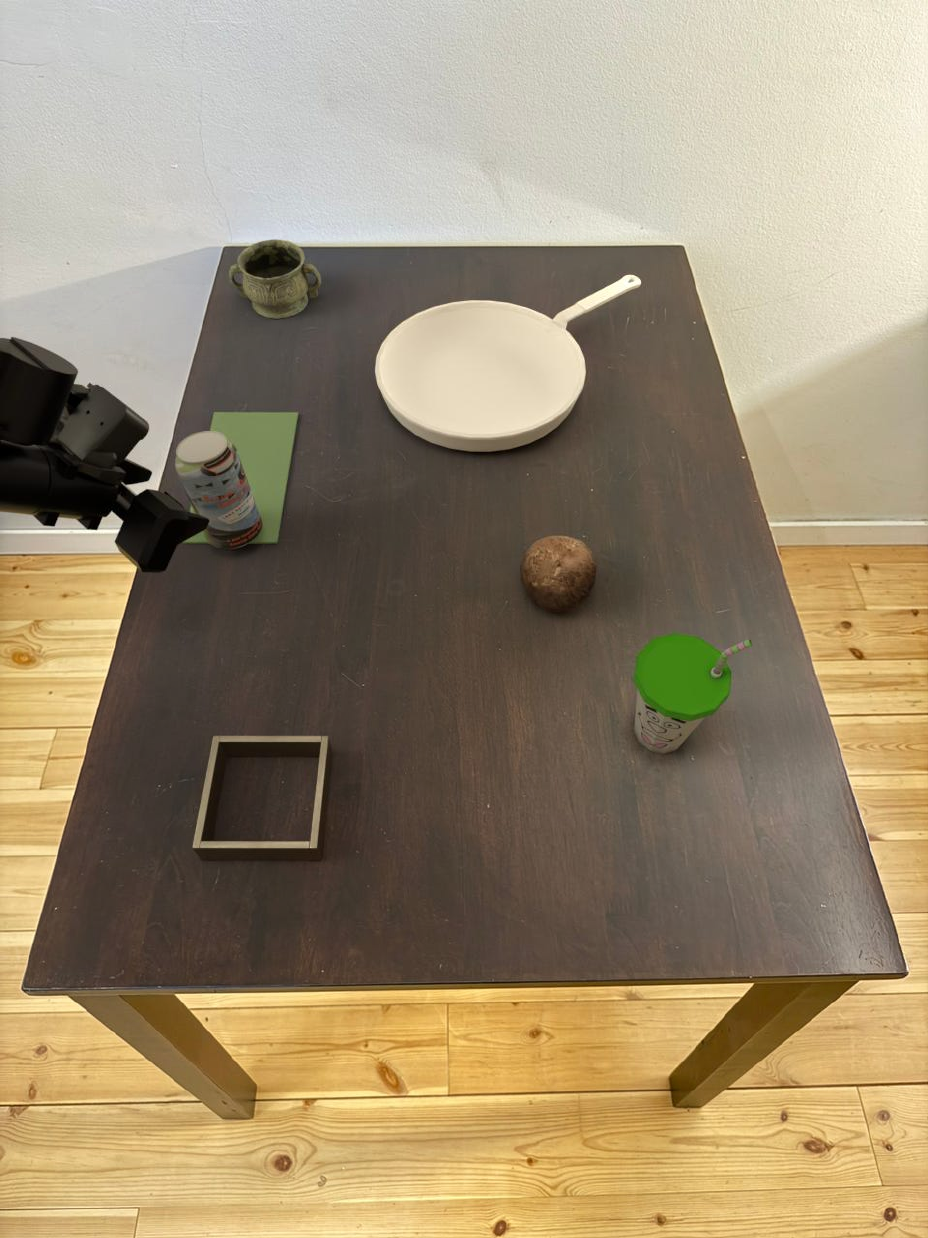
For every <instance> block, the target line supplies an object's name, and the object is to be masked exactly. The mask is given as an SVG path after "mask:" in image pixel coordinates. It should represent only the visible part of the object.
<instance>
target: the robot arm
mask: <svg viewBox="0 0 928 1238" xmlns="http://www.w3.org/2000/svg"><path fill="white" fill-rule="evenodd" d="M78 374H79V370H78V368H77V366H75V365H74V364H73V363H72V362H71V361H68V360H67V359H66V358H64V357H63V356H61V355H59V354H57V353H55V352H53V351H51V350H49V349H47V348H45V347H42V346H40V345H38V344H36V343H33V342H31V341H28V340H24V339H21V338H19V337H14V336H11V337H10V338H8V337H7V338H6V337H0V513H10V514H19V515H28V516H33V517H34V518H35V519H36V520H37V521H38V522H39V523H40V524H41V525H42V526H43V527H54V528H55V526H56V525H57V522H58V520H59V519H68V520H69V519H71V520H76V521H77V522H79V524H80V525H82V526H83V527H84V528H85V529H86V530H90V531H98V529H99V527H100V524H101V523H102V520H103V518H107V517H108V516H109V515H110V514H111V513H113V514H114V515H115V516H117V518H119V519H120V520H121V521H122V523H121V525H120V528H119V530H118V533H117V534H116V537H115V540H114V544H115V546H116V547H117V549H118V552H119V553H121V555H123V556H124V557H125V558H126V560H128V561H129V562H130V563H131V564H133V566H135V567H136V568H137V569H138V570H139V571H140V572H142V573H154V574H155V573H156V574H157V573H158V574H159V573H162V572H163V573H164V572H166V571H167V568H168V567H169V564H170V562H171V560H172V558H173V556H174V553H175V552H176V549H177V547H178V546H179V545H180V544H183V542H184V541H186V540H187V539H189V538H191V537H193V536H195V535H197V534H198V533H200V532H202V531H204V530H205V529H206V528H207V526H208V524H209V521H210V520H209V519H208V518H206V517H203V516H201V515H198V514H195V513H191V512H190V511H188V510H187V509H186V508H185V507H184V506H183V504H182V503H180V502H179V501H178V500H177V499H176V498H174V497H173V496H172V495H171V494H170V493H169V492H167V490H164V492H161V491H159V490H156V489H150V488H145V489H144V490H143V491H141V492H139V493H138V494H137V493H135V491H133V490H132V489H131V488H130V487H129V486H130V485H137V484H141V483H142V484H143V483H148V482H149V481H150V480H151V477H152V475H153V471H152V470H151V469H149V468H147V467H145V466H143V465H141V464H139V463H136V461H132V460H131V459H129V458H128V456H129V455H130V453H131V452H132V451H133V450H134V449H135V448H136V446H137V445H138V443H140V441H142V440H144V439H145V437H147V436H148V434H149V432H150V424H149V423H148V420H146V419H145V418H144V417H142V416H141V415H139V414H138V413H137V412H136V411H135V410H134V409H132V408H131V407H129V405H127V404H126V403H124V401H122V400H121V399H119V398H118V397H117V396H115V395H114V394H113V393H111V392H110V391H109V390H107V389H106V387H104V386H100V385H99V384H94V385H93V384H92V383H91V382H89V383H88V384H87V385H86V386H85V385H83V384H79V383H75V382H76V379H77V377H78Z"/></svg>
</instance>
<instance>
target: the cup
mask: <svg viewBox="0 0 928 1238" xmlns="http://www.w3.org/2000/svg"><path fill="white" fill-rule="evenodd" d="M750 647H753V642H752V640H751V639H750V638H749V639H746V640H744V641H742V642H739V643H738V644H734V645H733V646H730V647H728V648H726V649H725V650H723V652H721V651H720V650H719V649H717V648H716V647H714V646H713V645H712V644H710V643H708V642H707V641H705V640H704V639H703V638H701V637H699V636H694V635H689V634H684V633H678V632H672V633H669V634H665V635H661V636H657V637H653V638H651V640H650V641H649V642H648V643H647V644H645V646H644V647H643V648H642V649H641V650H640V651H639V652H638V653H637V656H636V660H635V666H634V673H633V679H632V680H633V682H634V685H635V686H636V688H637V690H636V701H635V702H636V705H635V715H634V716H635V717H634V729H633V732H634V735H635V737H636V740H637V741H638V743H639V745H641V746H643V747H644V748H645V749H646V750H647V751H649V752H651V753H656V754H661V755H666V754H669V753H673V752H676V751H677V750H678V749H679V748H680V747H681V745H682V744H683V743H684V742H685V741H686V740H687V739H688V737H689V736H690V735H691V734H692V732H694V730H695V729H696V728H697V727H698V726H699V725H700V724H701V722H702V721H703V720H704V719H705V718H706V717H710V716H714V715H715V713H716V712H717V711H718V710H719V709H720V708H721V707H722V706H723V704H724V703H725V702H726V701H727V700H728V698H729V696H730V695H731V685H732V670H731V668H730V666H729V665H728V663H727V661H728V658H729V657H730V656H733V655H735V654H737V653H739V652H741V651H744V650H746V649H749V648H750Z"/></svg>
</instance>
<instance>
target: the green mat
mask: <svg viewBox="0 0 928 1238" xmlns="http://www.w3.org/2000/svg"><path fill="white" fill-rule="evenodd" d="M298 419H299V412H298V411H296V412H295V411H294V412H293V411H291V412H289V411H287V412H286V411H284V412H280V411H278V412H277V411H273V412H272V411H271V412H269V411H267V412H265V411H262V412H261V411H259V412H257V411H252V412H251V411H249V412H248V411H243V412H242V411H215V412H213V416H212V420H211V424H210V427H209V431H216V432H219V433H221V434H223V435H224V436H225V437H226V439H227V440H229V441H230V442H231V443H233V445H234V446H235V447H236V449H237V452H238V455H239V458H240V461H241V463H242V466H243V469H244V472H245V475H246V477H247V480H248V483H249V486H250V489H251V492H252V494H253V497H254V500H255V503H256V506H257V508H258V511H259V514H260V517H261V520H262V529H261V531H260V533H259V534H258V536H257V537H256V538H255V539H253V540H252V541H251V542H250V543H248V544H247V545H250V544H252V545H257V544H259V545H272V544H273V545H277V544H278V543H279V537H280V535H279V534H280V530H281V523H282V518H283V512H284V505H285V499H286V493H287V487H288V481H289V475H290V469H291V463H292V457H293V451H294V446H295V445H294V444H295V438H296V433H297V427H298ZM189 512H191V513H195V512H194V510H193V508H192V505H191V504H190V508H189ZM182 544H184V545H185V544H187V545H188V544H197V545H198V544H202V545H203V544H205V545H207V544H209V543H208V541H207V540H206V538H205V535H204V533H203V531H202V532H200V533H198V534H197V535H195V536H193V537H191V538H189V539H187V540H186V541H184V542H182ZM209 545H210V544H209Z"/></svg>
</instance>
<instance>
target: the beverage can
mask: <svg viewBox="0 0 928 1238" xmlns="http://www.w3.org/2000/svg"><path fill="white" fill-rule="evenodd" d="M175 454H176V456H175V460H174V466H175V467H174V468H175V470H176V473H177V475H178V478H179V479H180V482H181V484H182V486H183V489H184V491H185V493H186V496H187V498H188V501H189V503H190V506H191V505H192V508H193V510H194V512H195V514H198V515H201V516H203V517H206V518H208V519H209V520H210V521H209V524H208V526H207V528H206V529H205V530H204V531H203V533H204V535H205V538H206V540H207V541H208V543H209V545H210V546H212V547H213V548H216V549H220V550H221V549H222V550H235V549H239V548H243V547H244V546H247V545H249V544H248V543H250V542H251V541H252V540H253V539H255V538H256V537H257V536H258V534H259V533H260V531H261V529H262V520H261V517H260V514H259V511H258V508H257V506H256V503H255V500H254V497H253V494H252V492H251V489H250V486H249V483H248V480H247V477H246V475H245V472H244V469H243V466H242V463H241V461H240V458H239V455H238V452H237V449H236V447H235V446H234V445H233V443H231V442H230V441H229V440H227V439H226V437H225V436H224V435H223V434H221V433H219V432H216V431H210V430H204V431H198V432H196V433H195V432H194V433H193V434H190V435H188V436H186V437H185V438H183V440H181V441H180V442H179V443H178V444H177V447H176V450H175Z"/></svg>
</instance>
